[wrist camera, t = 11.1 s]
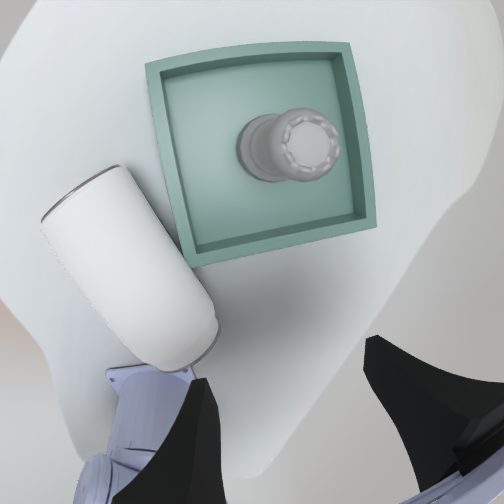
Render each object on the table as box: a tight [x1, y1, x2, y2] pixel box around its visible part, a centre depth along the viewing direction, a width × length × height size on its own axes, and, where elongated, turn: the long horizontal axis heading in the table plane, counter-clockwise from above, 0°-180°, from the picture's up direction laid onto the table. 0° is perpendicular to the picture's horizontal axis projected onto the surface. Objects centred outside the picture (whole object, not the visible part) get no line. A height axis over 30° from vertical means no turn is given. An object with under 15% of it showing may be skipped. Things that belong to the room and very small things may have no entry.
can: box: [40, 165, 221, 374], centre depth 17 cm, size 6×6×12 cm
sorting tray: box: [145, 41, 377, 268], centre depth 17 cm, size 13×13×2 cm
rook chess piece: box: [236, 107, 342, 183], centre depth 14 cm, size 4×4×8 cm
